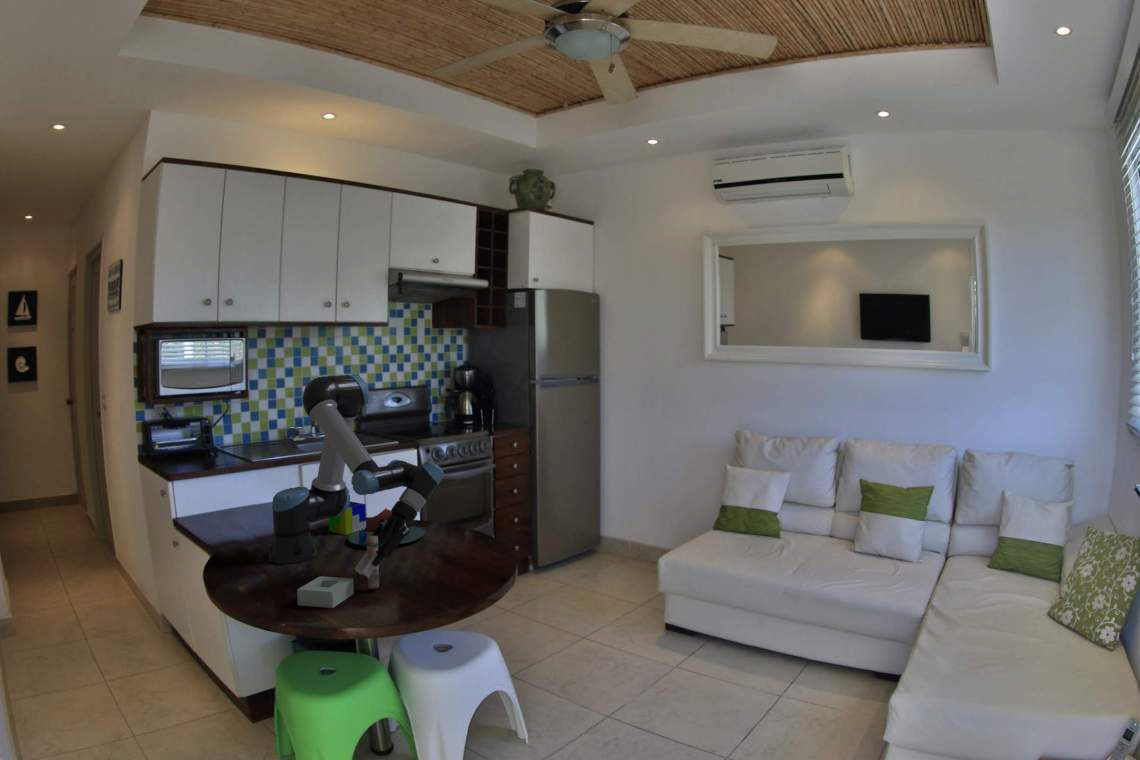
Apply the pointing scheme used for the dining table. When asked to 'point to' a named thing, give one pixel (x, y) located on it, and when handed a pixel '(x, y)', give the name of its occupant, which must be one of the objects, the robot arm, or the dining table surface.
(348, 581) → the grey square-hole block
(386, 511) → the red and teal hat
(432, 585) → the dining table surface
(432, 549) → the dining table surface
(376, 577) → the tan cylinder
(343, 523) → the puzzle toy
